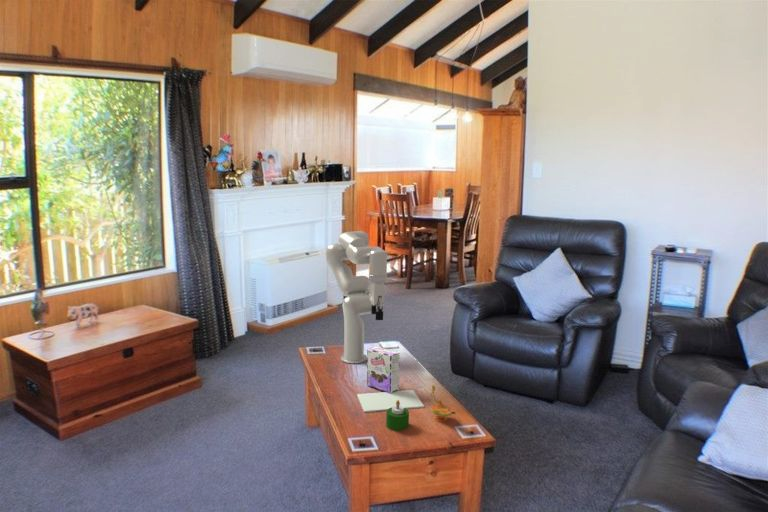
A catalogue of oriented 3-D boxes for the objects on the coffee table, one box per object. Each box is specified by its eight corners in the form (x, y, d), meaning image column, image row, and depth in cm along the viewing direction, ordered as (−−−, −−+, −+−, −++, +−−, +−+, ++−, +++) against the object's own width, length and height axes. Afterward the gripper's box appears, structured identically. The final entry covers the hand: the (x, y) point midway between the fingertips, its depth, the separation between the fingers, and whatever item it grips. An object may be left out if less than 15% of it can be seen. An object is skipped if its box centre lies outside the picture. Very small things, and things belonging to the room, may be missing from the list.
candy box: (366, 385, 251) (366, 348, 249) (375, 382, 255) (375, 345, 253) (390, 393, 241) (390, 355, 239) (399, 390, 246) (399, 352, 244)
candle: (391, 432, 210) (392, 406, 208) (382, 422, 217) (383, 397, 216) (412, 428, 213) (413, 402, 211) (402, 419, 221) (403, 394, 219)
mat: (356, 395, 241) (356, 394, 241) (413, 391, 246) (413, 389, 246) (364, 412, 226) (364, 410, 226) (423, 407, 231) (423, 405, 231)
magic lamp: (446, 432, 210) (447, 404, 208) (423, 412, 226) (423, 385, 225) (462, 429, 213) (464, 401, 211) (438, 409, 229) (439, 382, 227)
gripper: (365, 274, 260) (365, 311, 263) (373, 283, 243) (372, 323, 247) (382, 273, 262) (381, 311, 265) (390, 282, 245) (389, 322, 248)
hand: (377, 316), depth 256 cm, fingers open, 8 cm apart
